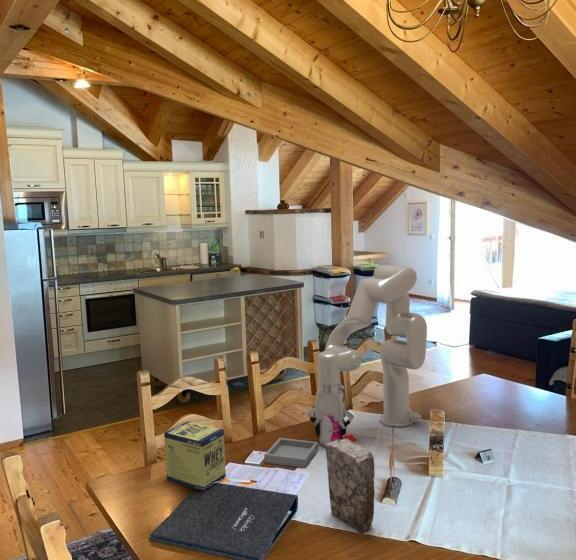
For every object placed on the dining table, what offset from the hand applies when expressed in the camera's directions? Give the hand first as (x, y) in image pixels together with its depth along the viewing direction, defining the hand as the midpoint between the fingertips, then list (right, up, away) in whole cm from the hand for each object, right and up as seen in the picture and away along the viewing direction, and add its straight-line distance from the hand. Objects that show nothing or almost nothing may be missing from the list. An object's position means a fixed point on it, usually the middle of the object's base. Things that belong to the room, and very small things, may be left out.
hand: (330, 436), depth 190 cm
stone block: (+2, -9, -47) cm, 48 cm away
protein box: (-43, -7, -21) cm, 48 cm away
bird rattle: (+5, -5, -16) cm, 17 cm away
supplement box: (0, -3, 0) cm, 3 cm away
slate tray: (-13, -4, -7) cm, 16 cm away
